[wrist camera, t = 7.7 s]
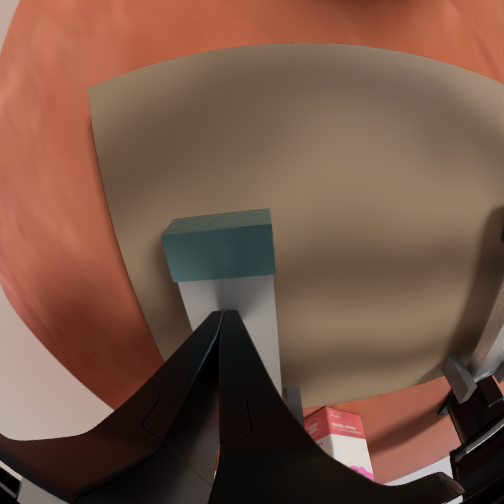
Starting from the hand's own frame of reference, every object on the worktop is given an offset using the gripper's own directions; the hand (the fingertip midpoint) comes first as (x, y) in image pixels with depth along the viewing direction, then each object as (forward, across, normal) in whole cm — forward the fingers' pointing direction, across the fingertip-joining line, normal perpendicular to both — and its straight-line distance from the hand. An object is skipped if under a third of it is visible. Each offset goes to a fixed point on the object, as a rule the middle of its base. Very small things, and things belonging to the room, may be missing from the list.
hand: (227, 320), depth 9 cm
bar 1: (+2, 0, +3) cm, 4 cm away
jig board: (+5, -8, +1) cm, 10 cm away
